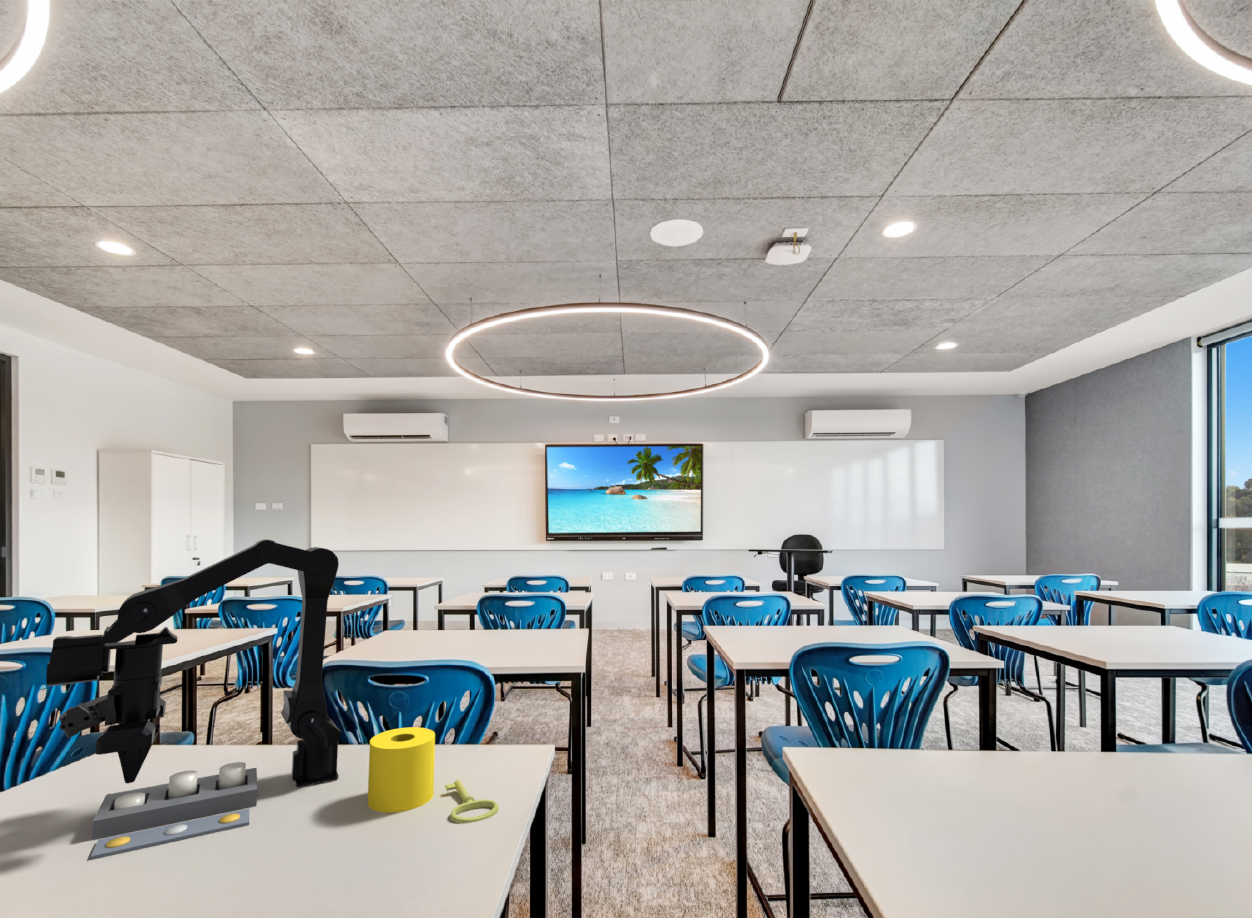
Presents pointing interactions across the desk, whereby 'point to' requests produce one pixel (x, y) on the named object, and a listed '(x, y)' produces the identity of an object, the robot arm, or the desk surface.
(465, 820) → the key
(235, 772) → the button
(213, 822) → the pattern card
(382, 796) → the yellow cylinder with hole
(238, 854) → the desk surface
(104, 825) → the button panel
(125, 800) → the button
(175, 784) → the button middle
